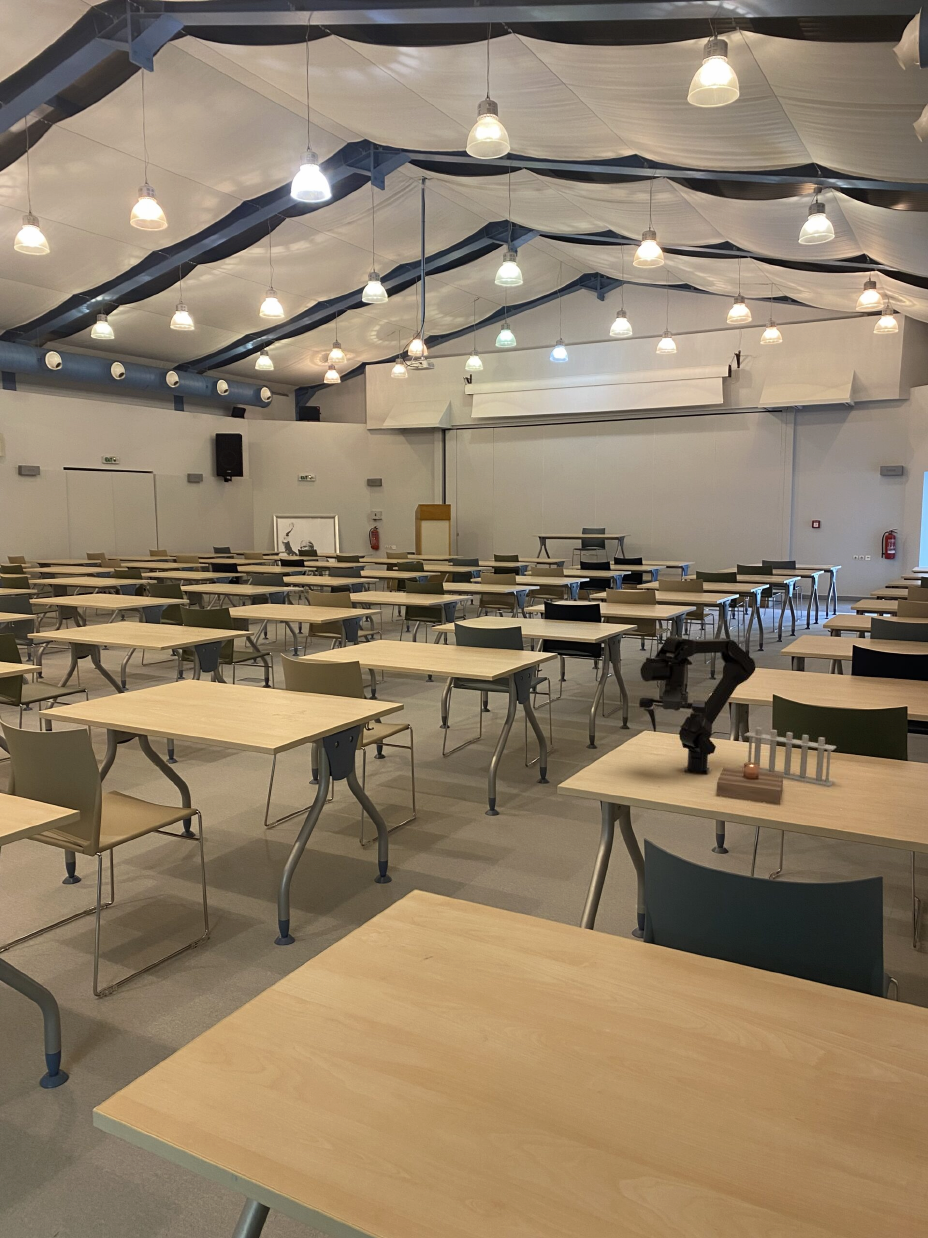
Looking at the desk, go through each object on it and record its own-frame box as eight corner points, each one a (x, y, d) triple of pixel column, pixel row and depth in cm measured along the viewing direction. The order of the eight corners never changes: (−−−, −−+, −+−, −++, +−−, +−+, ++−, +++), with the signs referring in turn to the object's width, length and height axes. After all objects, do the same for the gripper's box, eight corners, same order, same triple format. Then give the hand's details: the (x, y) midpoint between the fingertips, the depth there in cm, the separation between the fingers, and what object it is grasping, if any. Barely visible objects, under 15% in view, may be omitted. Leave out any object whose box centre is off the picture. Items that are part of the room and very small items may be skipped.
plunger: (743, 788, 230) (744, 761, 229) (758, 790, 229) (759, 763, 228) (741, 792, 227) (743, 765, 226) (757, 794, 225) (758, 767, 224)
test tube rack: (834, 784, 237) (837, 738, 236) (830, 787, 233) (833, 741, 232) (746, 767, 252) (749, 724, 251) (741, 770, 249) (744, 727, 247)
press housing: (722, 780, 238) (723, 766, 238) (782, 788, 232) (783, 774, 231) (716, 796, 223) (717, 781, 223) (779, 804, 217) (780, 790, 217)
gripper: (638, 681, 235) (635, 735, 236) (707, 687, 229) (703, 743, 231) (642, 675, 245) (639, 727, 247) (708, 681, 240) (705, 734, 241)
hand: (671, 733), depth 241 cm, fingers open, 9 cm apart
